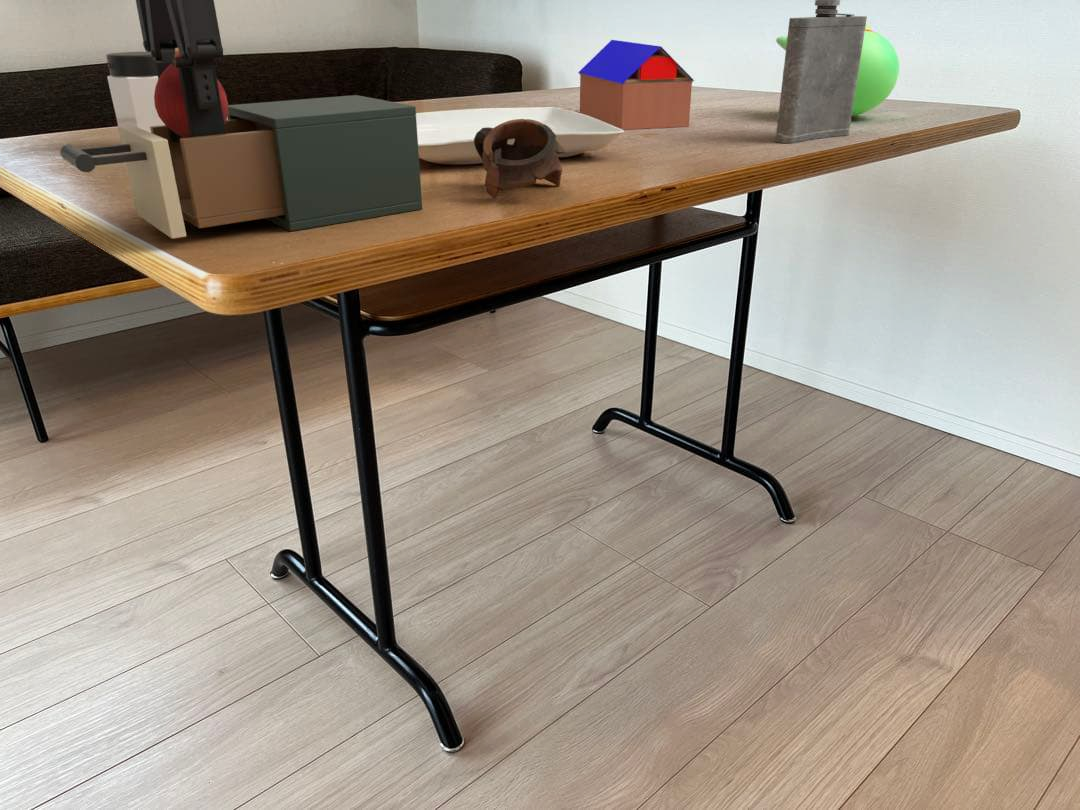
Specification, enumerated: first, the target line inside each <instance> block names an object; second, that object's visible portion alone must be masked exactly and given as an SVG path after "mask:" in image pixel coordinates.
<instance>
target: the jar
mask: <svg viewBox="0 0 1080 810" xmlns="http://www.w3.org/2000/svg"><path fill="white" fill-rule="evenodd" d="M106 61H107V62H106V65H107V68H108V70H109V75H107V83H108V87H109V91H110V96H111V100H112V101H111V102H112V104H113V109H114V110H113V111H114V113H115V118H116V123H117V126H121V125H133V126H136V127H138V128H140V129H143V130H145V131H147V132H150V133H151V130H150V127H151V126H161V125H165V124H164V123H163V121H162V120H161V119H160V118H159V116H158V113H157V111H156V108H155V102H154V93H155V87H156V84H157V82H158V75H157V70H156V65H155V63H157V62H159V61H154V60H153V57H152V56H151V52H147V51H125V52H112V53H111V52H110V53H107V54H106Z"/></svg>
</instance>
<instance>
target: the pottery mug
mask: <svg viewBox="0 0 1080 810" xmlns="http://www.w3.org/2000/svg"><path fill="white" fill-rule="evenodd" d="M555 138H556V135H555V133H554V132H553V131H552V130H551V129H550V128H549V127H548V126H547V125H545V124H542V123H540V122H538V121H535V120H530V119H526V120H525V119H515V120H510V121H507V122H504V123H502V124H500V125H498V126H496V127H494V128H489V127H486V128H482V129H481V130H480V131H478V132H477V133H476V135H475V138H474V144H475V148H476V150H477V152H478V154H479V156H480V157H481V159H482V160H483V163H482V165H483V168H484V170H485V171H486V175H485V179H484V185H483V186H484V189H485V193H486V194H488V195H489V196H490V197H491V198H492V199H494V200H495V199H496V200H497V198H498V197H499V194H500V191H501V192H502V191H507V190H512V189H517V188H521V187H527V186H533V185H534V184H536V183H537V180H539V181H542V180H545V181H548V182H549V183H551V184H553V185H555V186H556V187H560V186H561V180H562V179H561V178H562V173H563V167H562V166H561V161H560V159H559V157H557V155H556V153H557V154H561V153H565V151H564V149H563V147H562V146H561V145H560V144H559V143H558V142H557V141H556V139H555ZM508 139H515V141H514V143H513V145H512V144H507V142H508Z"/></svg>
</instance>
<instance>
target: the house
mask: <svg viewBox="0 0 1080 810" xmlns="http://www.w3.org/2000/svg"><path fill="white" fill-rule="evenodd" d="M577 73H578V74H579V113H581V114H584V115H587V116H590V117H593V118H595V119H598V120H600V121H603V122H605V123H608V124H610V125H612V126H615V127H617V128H620V129H622V130H624V131H626V130H627V131H628V130H643V129H644V130H645V129H662V128H663V129H664V128H681V127H682V128H683V127H684V128H685V127H689V126H690V114H691V104H692V103H691V101H692V88H693V82H695V80H694V78H693V77H692V76H691V75H690V74H688V72H687V71H686V70H685V69H684V68H683V67H682V66H681V65H680V64H679V63H678V62H677V61H676V60H675V59H674V58H673V56H671V55H670V54H669V52H667V51H666V50H665V48H663V46H660V45H653V44H646V43H639V42H631V41H626V40H625V41H623V40H617V39H611V40H609V42H608V43H606V45H604V47H603V48H601V49H600V51H599V52H597V54H595V55H594V56H593V57H592V58H591V59H590V60H589V61H588V62H587V63H586V64H585V65H584V66H583V67H582V68H581V69H580V70H579V71H578V72H577Z"/></svg>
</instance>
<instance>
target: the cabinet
mask: <svg viewBox="0 0 1080 810" xmlns="http://www.w3.org/2000/svg"><path fill="white" fill-rule="evenodd" d="M416 108H417V107H416V106H415V105H412V104H411V105H410V104H407V103H401V102H396V101H391V100H385V99H379V98H375V97H374V98H373V97H370V96H368V97H367V96H362V95H359V94H354V95H342V96H328V97H315V98H314V97H313V98H303V99H302V98H301V99H289V100H277V101H276V100H275V101H264V102H251V103H241V104H240V103H239V104H228V116H227V120H229V119H240V118H242V119H245V120H249V121H252V122H256V123H259V124H262V125H266V126H269V127H273V133H274V140H275V147H276V154H277V161H278V168H279V175H280V182H281V189H282V196H283V203H284V210H285V215H282V216H276V217H270V218H264V219H265V220H267V221H269V222H270V223H273V224H275V225H277V226H279V227H281V228H283V229H285V230H287V231H289V232H296V231H302V230H308V229H313V228H319V227H325V226H326V227H327V226H331V225H337V224H342V223H349V222H355V221H361V220H366V219H372V218H379V217H383V216H389V215H395V214H402V213H408V212H415V211H419V210H423V197H422V183H421V167H420V158H419V152H418V137H417V122H416V113H417V109H416Z"/></svg>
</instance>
